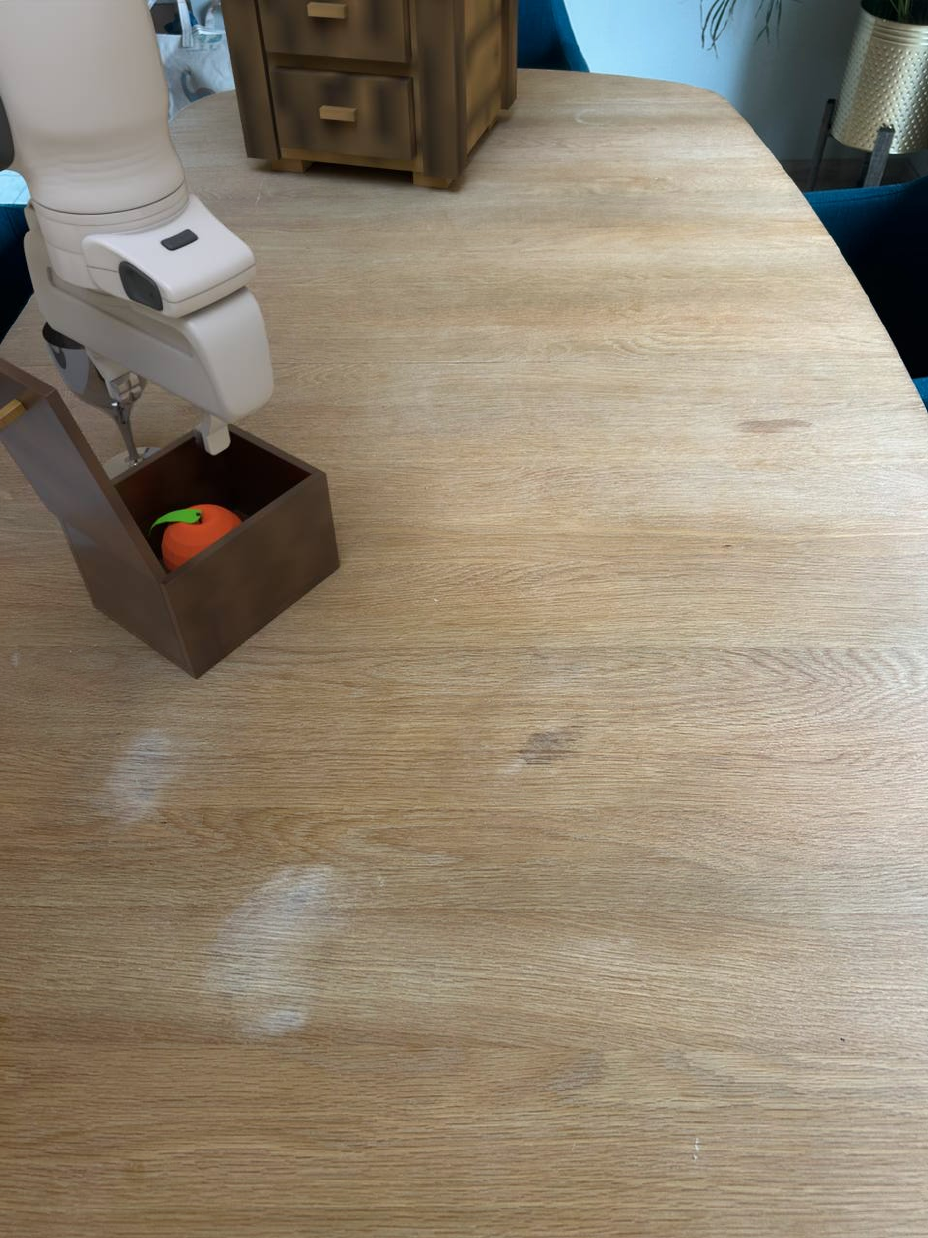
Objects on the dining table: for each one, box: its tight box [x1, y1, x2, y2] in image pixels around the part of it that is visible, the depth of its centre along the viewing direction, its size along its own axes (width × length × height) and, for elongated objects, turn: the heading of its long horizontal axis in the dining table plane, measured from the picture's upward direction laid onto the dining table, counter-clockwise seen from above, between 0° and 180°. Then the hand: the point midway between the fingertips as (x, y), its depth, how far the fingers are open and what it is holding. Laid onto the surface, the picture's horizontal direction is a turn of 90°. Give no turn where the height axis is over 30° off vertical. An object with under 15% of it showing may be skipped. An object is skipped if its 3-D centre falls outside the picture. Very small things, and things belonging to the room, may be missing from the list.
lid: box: [0, 356, 167, 584], centre depth 63 cm, size 17×13×5 cm
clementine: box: [149, 504, 242, 573], centre depth 79 cm, size 8×7×7 cm
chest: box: [56, 423, 341, 680], centre depth 78 cm, size 16×13×10 cm
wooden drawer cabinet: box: [219, 0, 519, 189], centre depth 134 cm, size 35×35×33 cm
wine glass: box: [41, 321, 161, 480], centre depth 87 cm, size 8×8×15 cm
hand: (169, 422), depth 70 cm, fingers open, 8 cm apart
